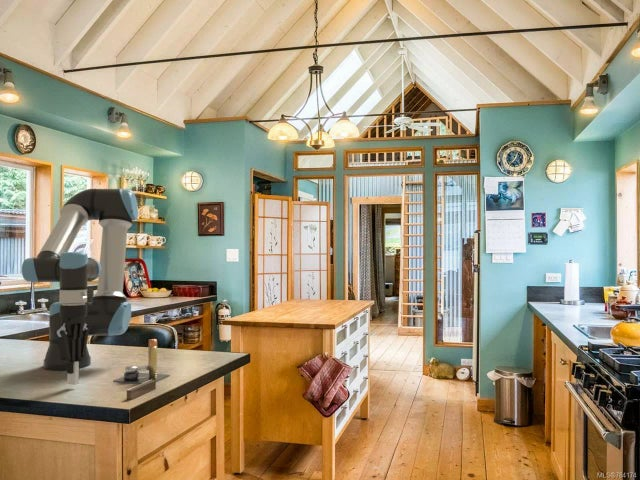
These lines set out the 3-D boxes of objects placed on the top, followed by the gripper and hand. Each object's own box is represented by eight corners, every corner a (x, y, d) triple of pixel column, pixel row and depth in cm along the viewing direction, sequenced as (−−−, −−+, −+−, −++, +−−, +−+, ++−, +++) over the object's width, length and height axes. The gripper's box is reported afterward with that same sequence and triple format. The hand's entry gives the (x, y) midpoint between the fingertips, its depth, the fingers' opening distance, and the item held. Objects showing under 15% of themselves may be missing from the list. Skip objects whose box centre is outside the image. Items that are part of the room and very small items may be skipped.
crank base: (113, 381, 169) (113, 348, 169) (134, 373, 180) (134, 342, 181) (150, 384, 166) (150, 350, 166) (169, 375, 177) (170, 343, 177)
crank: (126, 373, 169) (126, 342, 169) (124, 371, 172) (124, 341, 172) (158, 370, 173) (158, 340, 174) (155, 367, 177) (155, 338, 177)
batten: (126, 399, 150) (126, 389, 150) (150, 388, 161) (150, 379, 161) (131, 399, 149) (131, 390, 149) (155, 388, 161) (155, 379, 161)
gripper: (69, 306, 154) (68, 390, 154) (98, 302, 167) (98, 379, 167) (46, 305, 156) (46, 388, 156) (77, 301, 169) (77, 377, 168)
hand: (73, 383), depth 161 cm, fingers closed
